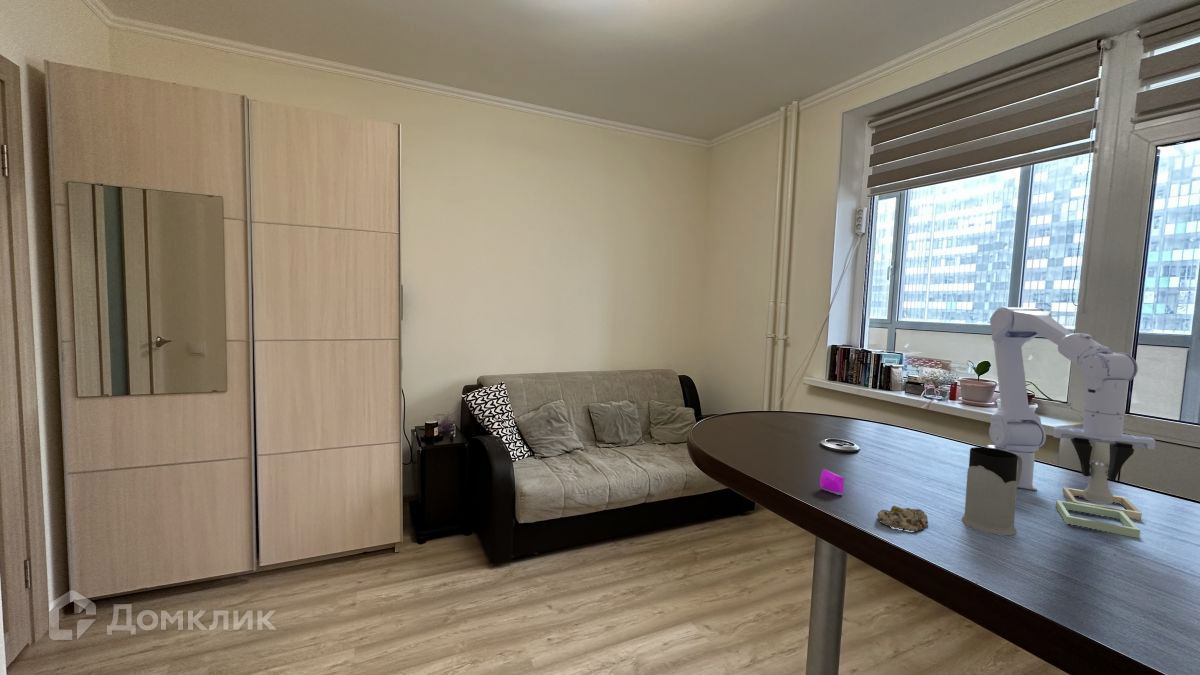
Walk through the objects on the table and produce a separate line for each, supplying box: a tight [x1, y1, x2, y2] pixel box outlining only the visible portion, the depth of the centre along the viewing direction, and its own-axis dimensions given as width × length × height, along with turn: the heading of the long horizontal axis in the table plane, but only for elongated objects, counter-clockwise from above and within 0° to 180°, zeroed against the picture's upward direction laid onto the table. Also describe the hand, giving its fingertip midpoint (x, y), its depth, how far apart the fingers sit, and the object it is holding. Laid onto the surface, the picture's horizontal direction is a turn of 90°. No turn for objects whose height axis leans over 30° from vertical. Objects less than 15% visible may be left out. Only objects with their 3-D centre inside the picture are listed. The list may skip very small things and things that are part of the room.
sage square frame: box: [1055, 499, 1141, 539], centre depth 102 cm, size 10×10×2 cm
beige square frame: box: [1062, 486, 1143, 521], centre depth 110 cm, size 10×10×2 cm
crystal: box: [819, 468, 845, 493], centre depth 116 cm, size 5×5×5 cm
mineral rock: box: [877, 505, 929, 532], centre depth 100 cm, size 11×4×8 cm
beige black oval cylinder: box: [961, 446, 1022, 536], centre depth 100 cm, size 9×14×15 cm, turn 113°
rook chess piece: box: [1083, 460, 1114, 505], centre depth 101 cm, size 4×4×8 cm
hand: (1098, 477), depth 101 cm, fingers closed on rook chess piece, 3 cm apart
